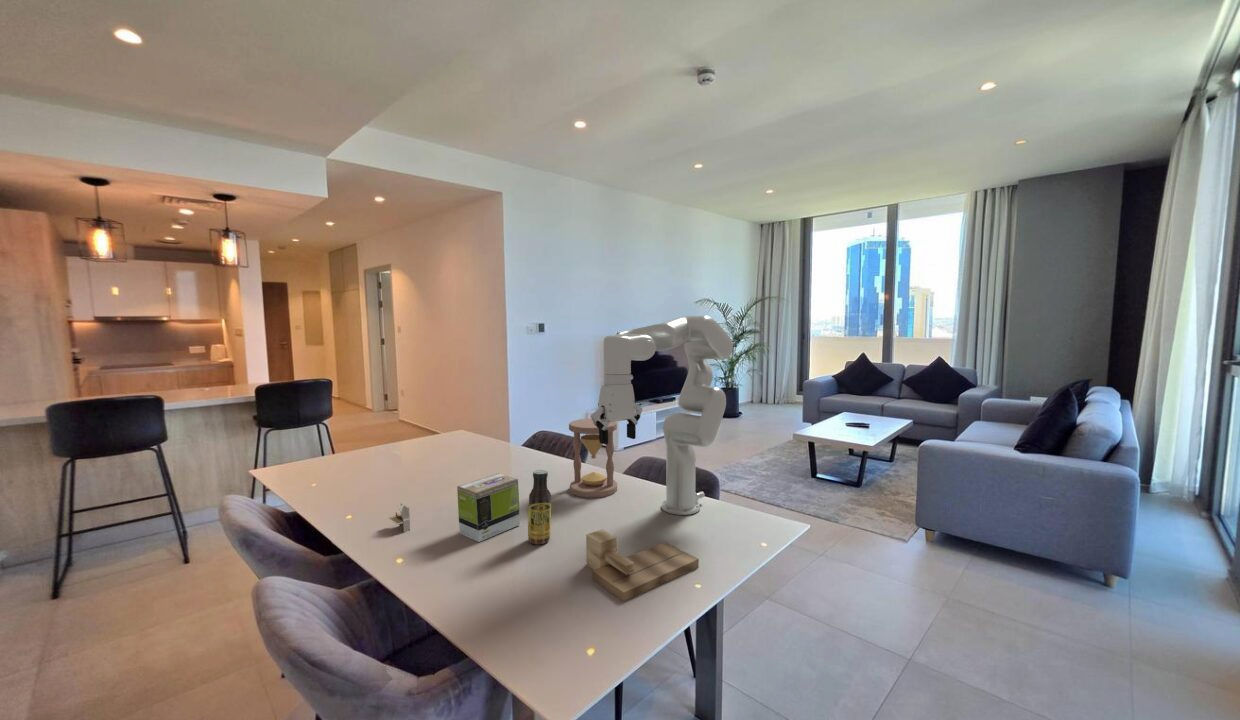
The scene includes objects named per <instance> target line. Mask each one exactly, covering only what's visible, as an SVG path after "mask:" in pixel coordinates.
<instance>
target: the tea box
mask: <svg viewBox="0 0 1240 720" xmlns="http://www.w3.org/2000/svg"><path fill="white" fill-rule="evenodd" d="M456 488H457V505H458V506H457V508H458V511H457V512H458V527H459V529H458V530H459V534H460V535H462V534H463V535H462V536H464V535H465V536H464V537H466V536H467V538H468V539H471V540H472V541H475V542H477V543H481V542H482V541H485V540H488V539H490V538H492V537H495V536H497V535H498V534H502V533H504V532H507V531H508V530H511V529H513V528H515V527H518V526H521V512H520V510H521V509H520V493H519V479H518V478H516V477H513V476H507V475H504V474H503V473H502V474H501V473H495V474H491V475H489V476H486V477H482V478H478V479H475V480H471V481H469V482H466V483H463V484H460V485H458V486H456Z"/></svg>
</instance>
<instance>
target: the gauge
mask: <svg viewBox="0 0 1240 720" xmlns="http://www.w3.org/2000/svg"><path fill="white" fill-rule="evenodd" d="M585 536H586V537H585V539H586V541H585V542H586V543H585V544H586V545H585V548H586V566H587V567H589V568H590V569H591V570H592V571H593V570H596V569H598V568H601V567H603V566H606V565H608V564H611V565H612V566H614V567H615V568H617V569H619V570H620V571H622V572H623V573H625V574H626V575H629V573H631V572H633V571H634V562H632V561H630V560H629V559H627V558H626V557H625V556H624V555H622V554H620V553H618V552H617V536H615V535H614V534H612V533H610V532H608V531H606V530H605V529H603V528H602V529H600V530H596V531H593V532H590V533H587V534H585Z"/></svg>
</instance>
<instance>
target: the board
mask: <svg viewBox="0 0 1240 720" xmlns="http://www.w3.org/2000/svg"><path fill="white" fill-rule="evenodd" d="M625 558H627V559H629V560H630V561H632V562H634V571H633V572H631V573H629V575H626V574H625V573H623V572H622V571H620V570H619V569H617V568H615V567H614V566H612V565H611V564H608V565H606V566H603V567H601V568H598V569H596V570H593V569H592V580H593V581H595V582H596V583H597V584H599V585H601V586H602V587H603V588H604V589H606V590H607V591H609V592H611V593H612V594H613V595H615V597H617V598H618V599H620V600H621V601H623V602H625V601H628V600H630V599H631V598H634V597H636V596H638V595H641V594H643V593H645V592H647V591H649V590H652V589H653V588H655V587H658V586H660V585H662V584H665V583H666V582H668V581H671V580H673V579H675V578H677V577H679V576H682V575H684V574H686V573H688V572H690V571H693V570H695V569H697V568H699V567H700V565H699V563H700V561H699V560H700V559H699V558H697V557H696V556H694V555H691V553H687V552H686V551H685V550H682V549H680V548H678V547H676V546H674V545H672V544H671V543H670V544H669V543H668V542H666V541H665V542H662V543H660V544H657V545H655V546H652V547H650V548H648V549H645V550H644V549H643V550H642V551H640V552H637V553H634V554H631V555H630V556H627V557H625Z"/></svg>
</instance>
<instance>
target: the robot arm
mask: <svg viewBox="0 0 1240 720" xmlns="http://www.w3.org/2000/svg"><path fill="white" fill-rule="evenodd" d="M602 343H603V346H602V347H603V385H602V384H601V386H600V389H599V395H598V404H597V405H598V409H597V410H595V411H594V412H593V413H591V414H590V419H592V420H593V423H594V424H595V425H596V426H597V428H598V429H599V441H600V443H602V444H603V445H605V446H606V445H607V444H608V430H606V428H607V427H608V425H609V423H610V422H617V423H618V422H622V421H627V423H626V437H627V438H629V439H632V440H635V439H637V436H636V433H637V432H636V426H637V425H638V423H639V420H640V418H641V415H642V413H643V407H641V406H640V405H637V404H636V398H635V392H634V387H633V384H632V380H633V379H634V376H633V374H631V373H632V370H631V369H632V368H631V367H632V366H631V364H632V361H638V362H639V361H641V362H642V361H647V360H649V359H651V358H652V357H653V356H654V355H655V353H656V352H663V351H668V350H671V349H675V348H676V347H679V346H681V345H683V346H684V352H685V355H686V359H687V362H688V373H687V375H686V379H685V381H684V384H683V387H682V388H681V391H680V394H679V397H678V407H679V409H681V410H682V411H683V412H685V413H683V412H674V413H671V414H669V415H667V416H666V417H665V419H664V420H663V423H662V424H663V425H662V431H663V437H664V441H665V451H666V453H665V454H666V455H665V456H666V457H665V458H666V463H665V464H666V468H665V469H666V470H665V471H666V473H665V475H666V480H665V482H666V483H665V484H666V485H665V487H666V488H665V489H666V491H665V492H666V493H665V494H666V498H665V500H663V501H662V502H661V509H662V510H663V511H664V512H666V513H669V514H671V515H676V516H689V515H693V514H696V513H698V512H699V511H700V510H701V504H700V503H699V502H698V501H699V499H703V498H704V497H705V496H706V494H705V493H704V491H699V492H696V463H697V462H696V458H697V457H696V454H695V450H694V447H693V446H695V447H700V448H707V447H710V446H711V445H712V444H713V443H714V441H715V439H716V436H717V434H718V432H719V428H720V425H721V422H722V420H723V416H724V414H725V411H726V407H727V396H726V393H725V392H724V390H723V389H722V388H720V387H716V386H712V383H713V379H714V374H713V370H712V368H711V366H710V364H709V362H708V360H718V361H719V360H726V359H728V358H730V356H731V355H732V353H733V350H734V344H733V341H732V339H731V337H730V336H729V334H728V333H727V331H726V330H725V329H724V328H723V327H722V326H721V325H720V323H718V321H716V320H715V319H714V318H712V317H711V316H708V315H684V316H679V317H677V318H674V319H671V320H667V321H664V322H661V323H656V324H655V323H654V324H652V325H646V326H642V327H637V328H632V329H628V330H624V331H621V332H619V333H616V334H614V335H607V336H605V337H604V339H603V342H602ZM689 413H690V414H689ZM696 414H697V415H696ZM599 419H600V421H599ZM604 422H605V423H604Z"/></svg>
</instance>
